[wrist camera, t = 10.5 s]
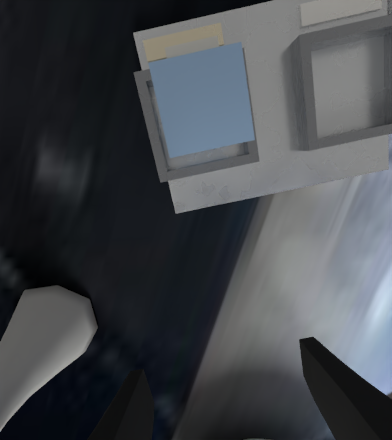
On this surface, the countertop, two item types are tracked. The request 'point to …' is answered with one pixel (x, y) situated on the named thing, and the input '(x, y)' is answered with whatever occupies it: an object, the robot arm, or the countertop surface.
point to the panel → (285, 98)
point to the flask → (41, 342)
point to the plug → (202, 96)
